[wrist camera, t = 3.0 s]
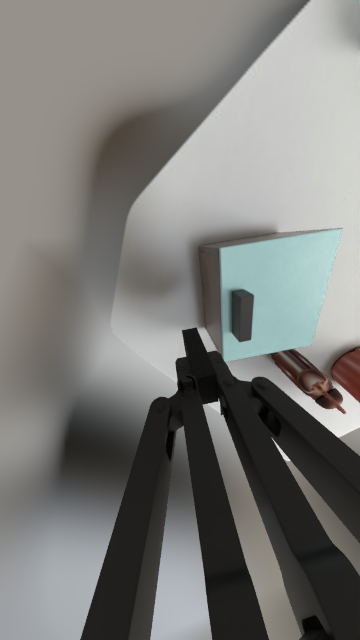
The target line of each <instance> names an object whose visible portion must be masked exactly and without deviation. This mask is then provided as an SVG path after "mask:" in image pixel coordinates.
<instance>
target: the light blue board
mask: <svg viewBox="0 0 360 640" xmlns="http://www.w3.org/2000/svg"><path fill="white" fill-rule="evenodd" d="M342 229H343V228H337V229H331V230H325V231H319V232H313V233H307V234H301V235H295V236H289V237H283V238H276V239H270V240H264V241H258V242H252V243H246V244H240V245H234V246H228V247H222V248H219V267H220V298H221V329H222V357H223V359H224V361H225V362H228V361H233V360H238V359H243V358H248V357H253V356H258V355H263V354H269V353H274V352H279V351H284V350H289V349H294V348H299V347H304V346H309V345H311V344H312V340H313V336H314V333H315V329H316V325H317V322H318V318H319V314H320V311H321V307H322V303H323V300H324V296H325V292H326V288H327V285H328V281H329V277H330V274H331V270H332V266H333V263H334V259H335V255H336V251H337V248H338V244H339V240H340V237H341V233H342Z"/></svg>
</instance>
